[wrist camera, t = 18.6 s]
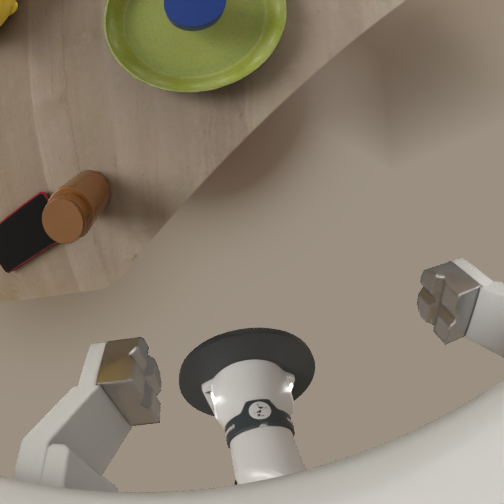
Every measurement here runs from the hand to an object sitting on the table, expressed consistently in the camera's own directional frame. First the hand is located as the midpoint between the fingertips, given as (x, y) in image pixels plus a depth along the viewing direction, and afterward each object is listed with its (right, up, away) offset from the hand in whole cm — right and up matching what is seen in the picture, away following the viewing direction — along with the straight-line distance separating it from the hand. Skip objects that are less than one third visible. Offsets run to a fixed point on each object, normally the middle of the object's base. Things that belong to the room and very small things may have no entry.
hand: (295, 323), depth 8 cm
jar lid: (-7, +28, +16) cm, 33 cm away
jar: (-22, +10, +29) cm, 38 cm away
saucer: (-8, +30, +21) cm, 37 cm away
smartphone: (-34, +5, +29) cm, 45 cm away
